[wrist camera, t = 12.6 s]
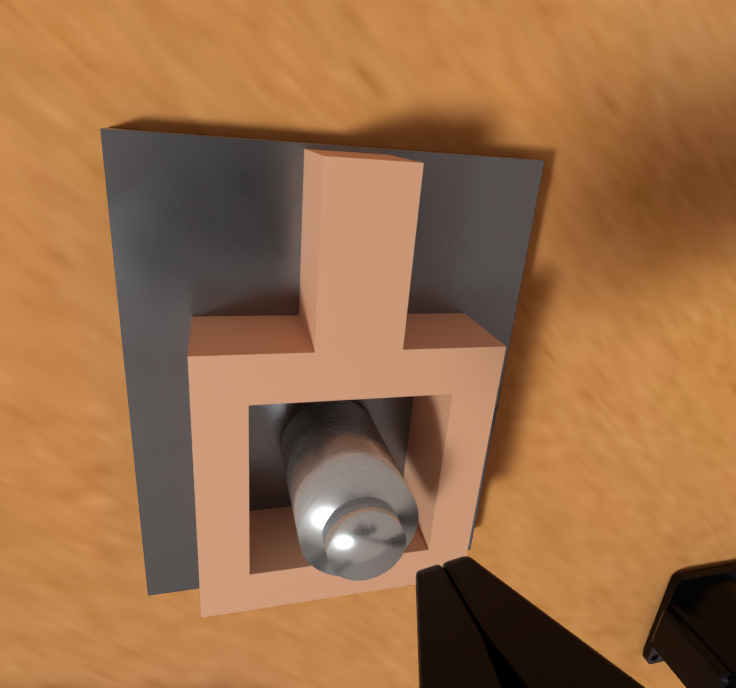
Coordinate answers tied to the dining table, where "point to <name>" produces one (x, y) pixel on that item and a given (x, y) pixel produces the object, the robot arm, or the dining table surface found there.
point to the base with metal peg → (281, 297)
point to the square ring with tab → (339, 388)
